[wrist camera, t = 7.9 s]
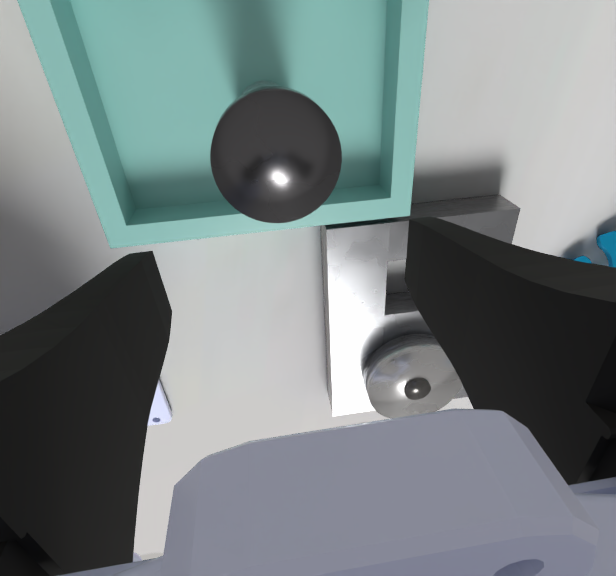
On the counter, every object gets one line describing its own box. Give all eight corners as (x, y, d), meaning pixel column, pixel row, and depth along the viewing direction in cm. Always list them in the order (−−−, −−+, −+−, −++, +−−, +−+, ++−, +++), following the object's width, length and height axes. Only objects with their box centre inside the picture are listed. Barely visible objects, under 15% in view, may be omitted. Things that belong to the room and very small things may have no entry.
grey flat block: (328, 393, 29) (338, 438, 26) (320, 213, 21) (332, 246, 18) (460, 375, 30) (486, 416, 27) (499, 194, 22) (542, 223, 19)
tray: (124, 225, 20) (110, 248, 18) (27, -60, 14) (-11, -74, 12) (394, 197, 21) (410, 215, 19) (411, -81, 15) (437, -97, 13)
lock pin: (234, 158, 19) (228, 232, 12) (214, 71, 17) (193, 102, 10) (310, 145, 19) (346, 212, 12) (299, 58, 17) (335, 79, 10)
